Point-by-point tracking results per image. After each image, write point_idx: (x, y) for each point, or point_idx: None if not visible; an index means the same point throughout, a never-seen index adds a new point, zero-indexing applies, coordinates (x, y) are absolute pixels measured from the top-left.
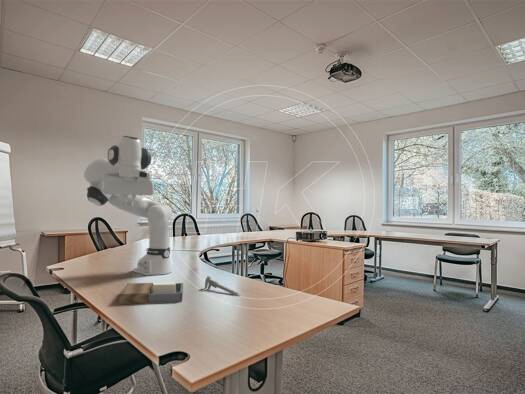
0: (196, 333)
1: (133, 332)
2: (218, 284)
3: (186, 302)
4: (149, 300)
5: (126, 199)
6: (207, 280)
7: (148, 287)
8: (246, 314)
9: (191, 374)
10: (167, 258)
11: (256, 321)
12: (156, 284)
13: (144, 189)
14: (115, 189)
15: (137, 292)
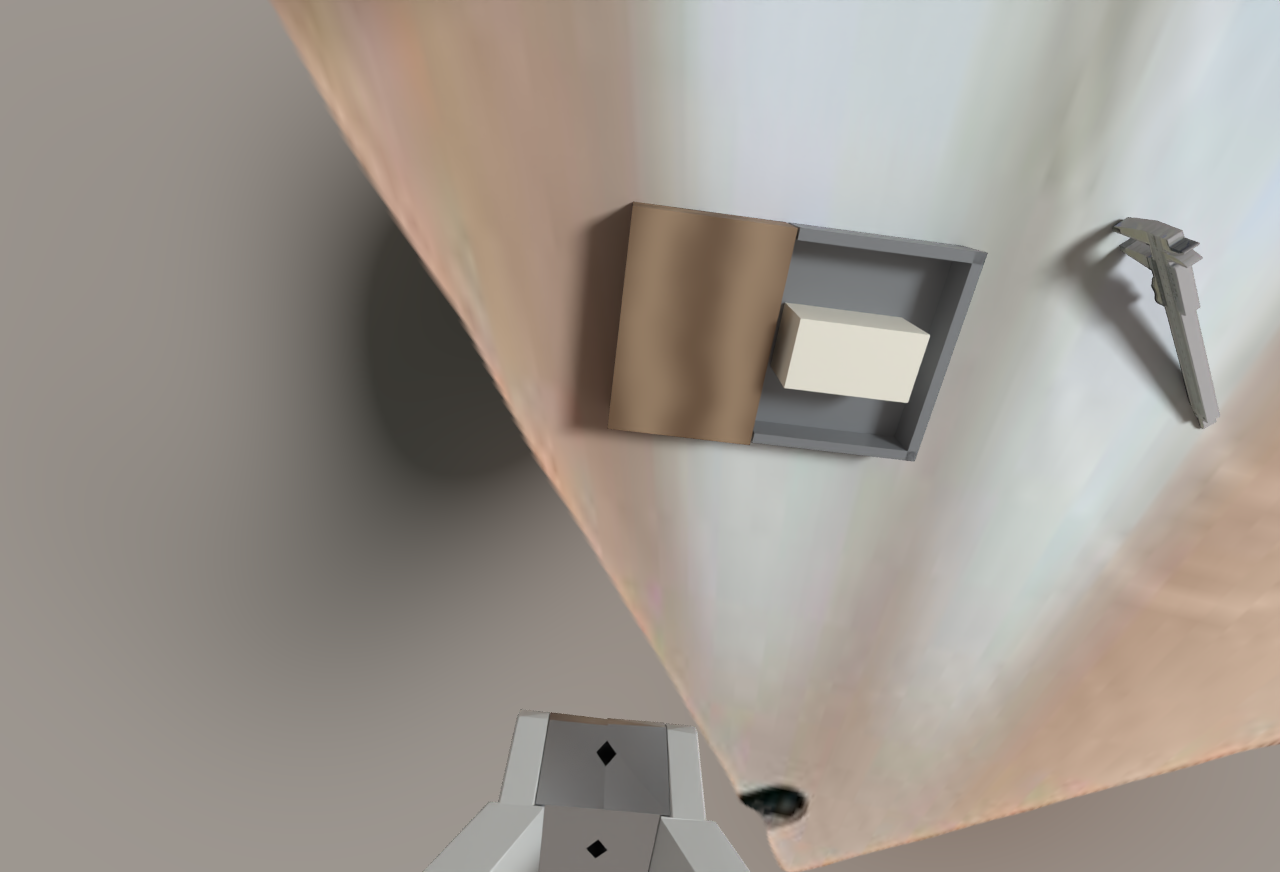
0: (856, 721)
1: (680, 678)
2: (1185, 324)
3: None
4: None
5: (500, 867)
6: (1160, 250)
7: (758, 338)
8: (1080, 636)
9: (792, 858)
10: None
11: (1072, 692)
12: (804, 381)
13: None
14: None
15: (695, 421)
